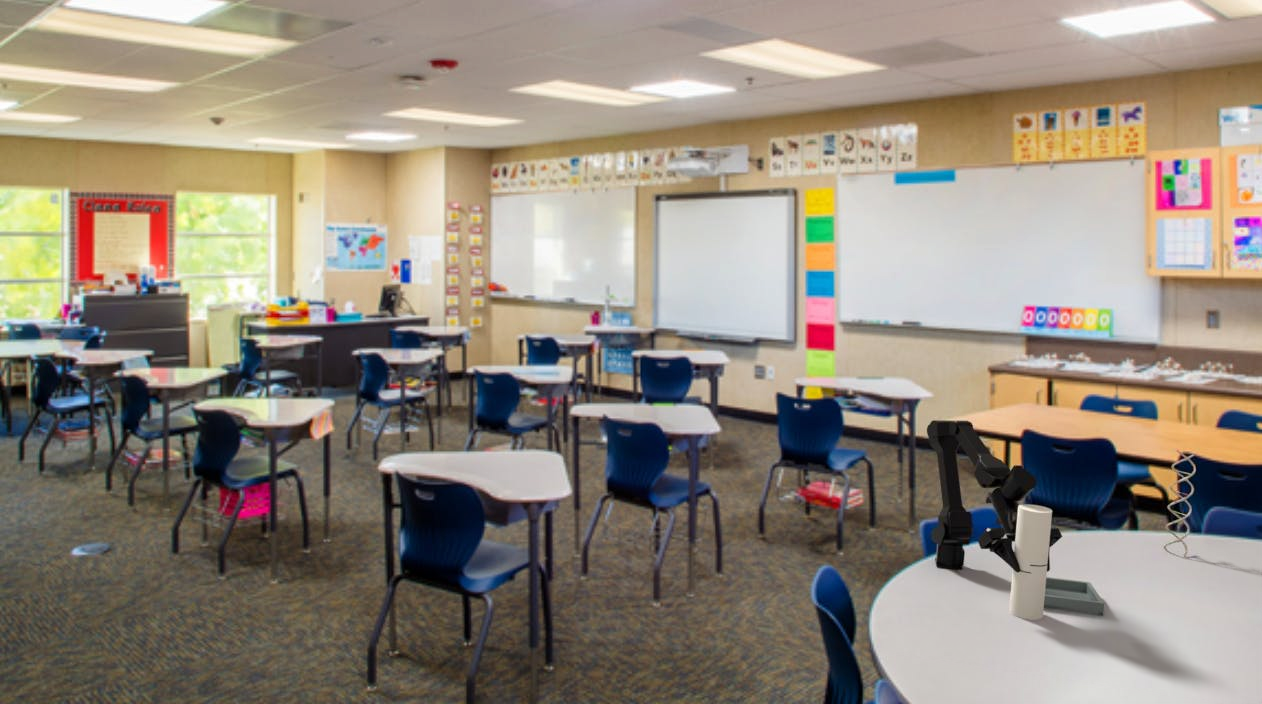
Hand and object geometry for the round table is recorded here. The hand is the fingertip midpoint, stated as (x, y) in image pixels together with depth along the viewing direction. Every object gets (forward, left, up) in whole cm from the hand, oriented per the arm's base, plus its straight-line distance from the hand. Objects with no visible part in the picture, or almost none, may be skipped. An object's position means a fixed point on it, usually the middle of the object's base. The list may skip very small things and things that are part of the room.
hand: (1033, 571), depth 204 cm
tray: (+9, +14, -11) cm, 20 cm away
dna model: (+49, +69, -11) cm, 86 cm away
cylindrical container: (-1, +1, -11) cm, 11 cm away
